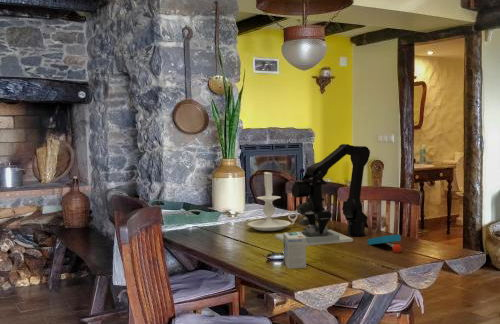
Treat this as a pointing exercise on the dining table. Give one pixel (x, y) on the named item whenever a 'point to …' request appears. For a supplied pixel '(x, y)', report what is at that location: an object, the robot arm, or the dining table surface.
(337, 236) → the chassis
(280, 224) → the candlestick
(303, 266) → the light bulb box
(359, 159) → the robot arm
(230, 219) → the dining table surface
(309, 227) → the block
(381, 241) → the lever
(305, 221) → the wheel
